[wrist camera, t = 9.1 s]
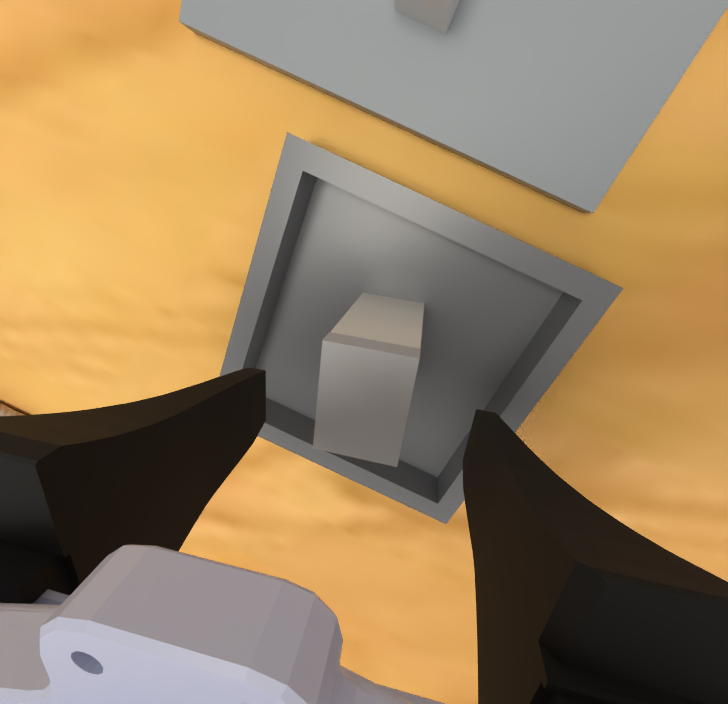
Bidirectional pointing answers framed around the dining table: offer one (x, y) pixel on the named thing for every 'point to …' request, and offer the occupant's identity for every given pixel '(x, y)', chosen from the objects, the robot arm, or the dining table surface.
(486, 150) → the panel
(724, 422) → the dining table surface
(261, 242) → the parts tray
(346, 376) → the block
